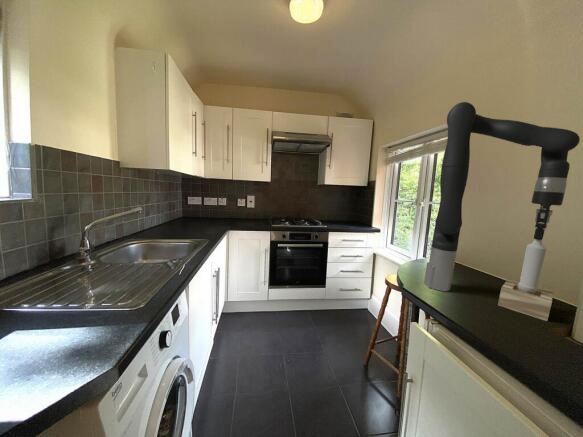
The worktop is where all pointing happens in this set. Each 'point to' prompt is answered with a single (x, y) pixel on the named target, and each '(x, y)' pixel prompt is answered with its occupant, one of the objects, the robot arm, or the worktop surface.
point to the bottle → (532, 266)
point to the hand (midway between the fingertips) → (538, 238)
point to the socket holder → (526, 300)
